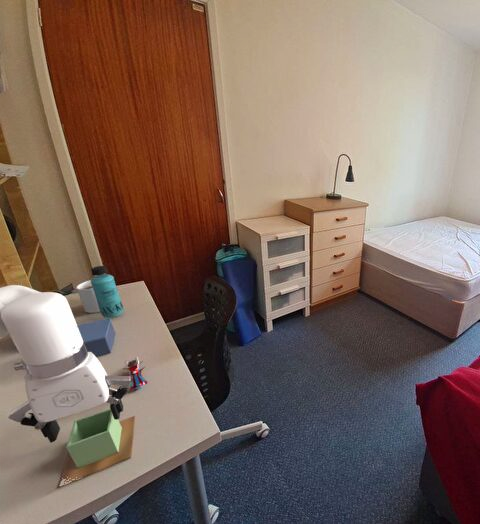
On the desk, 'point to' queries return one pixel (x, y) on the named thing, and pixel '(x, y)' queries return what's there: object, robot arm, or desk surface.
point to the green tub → (94, 438)
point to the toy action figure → (135, 374)
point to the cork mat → (104, 463)
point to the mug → (88, 297)
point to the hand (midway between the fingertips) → (88, 424)
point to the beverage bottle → (106, 293)
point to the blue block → (98, 336)
